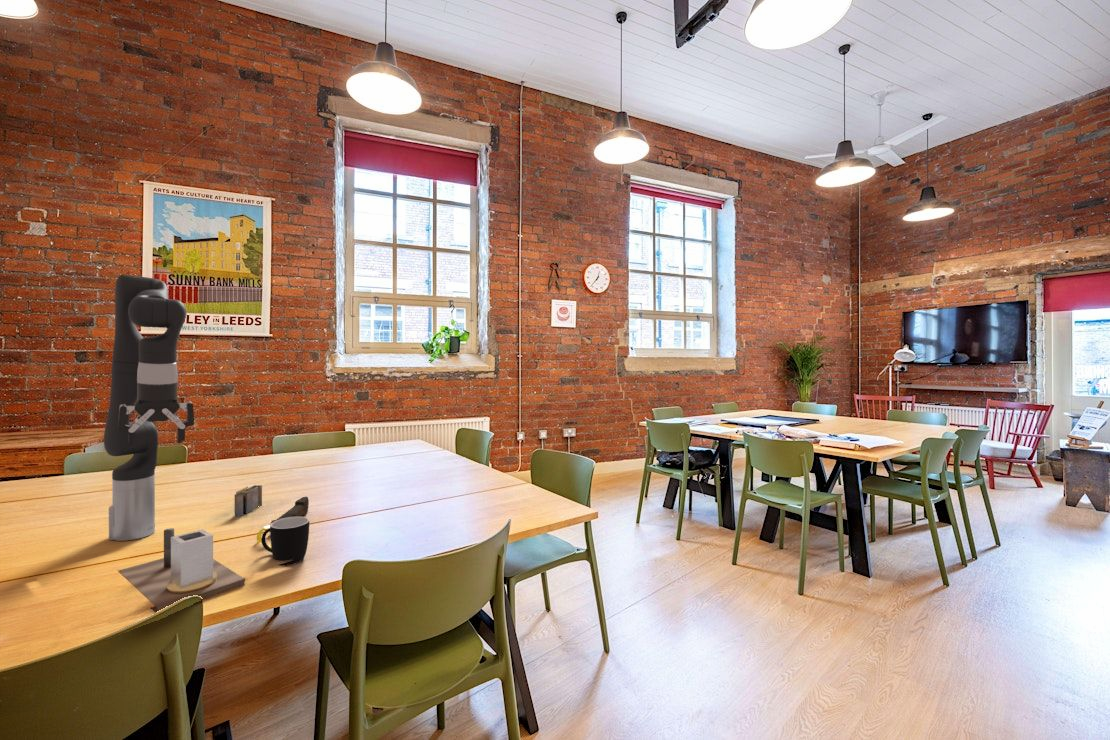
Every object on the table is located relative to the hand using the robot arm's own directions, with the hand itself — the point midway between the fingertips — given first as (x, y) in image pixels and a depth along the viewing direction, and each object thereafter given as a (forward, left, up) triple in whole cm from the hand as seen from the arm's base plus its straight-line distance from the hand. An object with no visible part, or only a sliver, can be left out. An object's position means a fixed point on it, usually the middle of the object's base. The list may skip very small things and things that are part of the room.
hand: (157, 444), depth 116 cm
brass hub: (+13, -15, -30) cm, 36 cm away
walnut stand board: (+8, -9, -31) cm, 33 cm away
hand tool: (+24, +28, -31) cm, 49 cm away
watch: (+23, +7, -31) cm, 39 cm away
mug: (+29, -3, -31) cm, 43 cm away
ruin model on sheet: (+9, +43, -32) cm, 54 cm away
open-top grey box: (+13, -15, -29) cm, 35 cm away
